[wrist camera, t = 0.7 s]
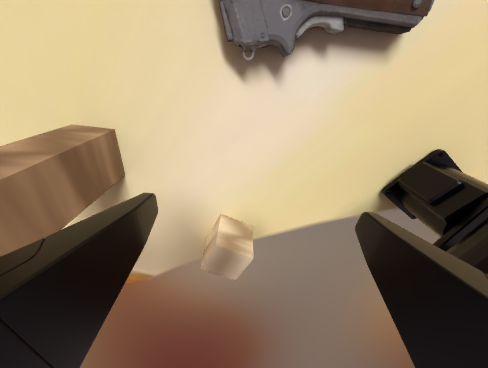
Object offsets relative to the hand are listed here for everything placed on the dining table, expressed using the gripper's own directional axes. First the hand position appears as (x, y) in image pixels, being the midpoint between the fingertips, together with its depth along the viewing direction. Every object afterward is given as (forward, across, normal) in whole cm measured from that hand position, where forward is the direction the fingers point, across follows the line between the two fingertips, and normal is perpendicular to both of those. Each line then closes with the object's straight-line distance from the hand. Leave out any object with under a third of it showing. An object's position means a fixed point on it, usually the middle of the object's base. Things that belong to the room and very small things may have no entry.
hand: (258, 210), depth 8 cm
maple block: (+12, +2, +13) cm, 18 cm away
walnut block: (+12, +16, +3) cm, 20 cm away
